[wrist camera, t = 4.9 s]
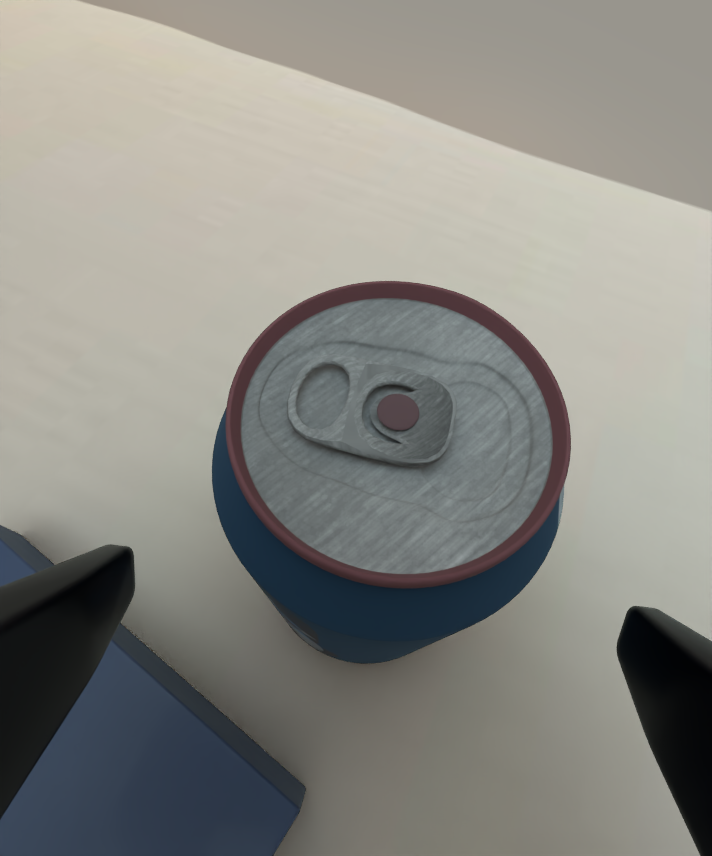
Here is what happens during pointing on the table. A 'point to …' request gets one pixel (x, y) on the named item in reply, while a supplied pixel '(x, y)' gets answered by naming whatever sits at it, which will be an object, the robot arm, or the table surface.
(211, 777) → the blue square block
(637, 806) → the table surface
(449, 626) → the soda can
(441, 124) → the table surface
